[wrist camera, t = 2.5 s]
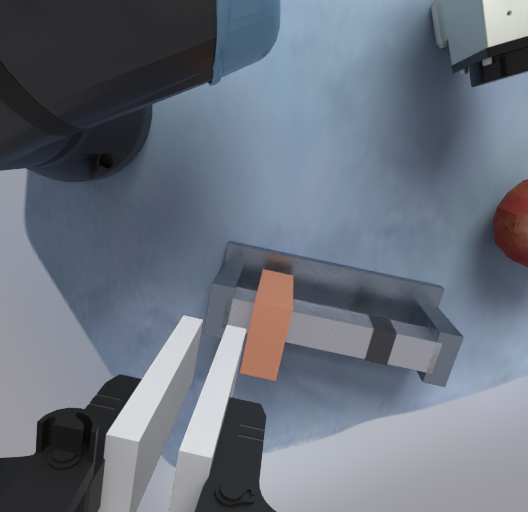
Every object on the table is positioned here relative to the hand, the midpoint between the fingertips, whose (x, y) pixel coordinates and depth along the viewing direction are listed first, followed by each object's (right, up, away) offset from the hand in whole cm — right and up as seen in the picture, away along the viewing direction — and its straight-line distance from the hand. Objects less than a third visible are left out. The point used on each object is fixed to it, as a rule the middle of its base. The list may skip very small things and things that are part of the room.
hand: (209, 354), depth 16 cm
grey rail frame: (+8, -1, +27) cm, 28 cm away
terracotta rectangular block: (+3, -1, +25) cm, 25 cm away
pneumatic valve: (+19, +24, +20) cm, 36 cm away
